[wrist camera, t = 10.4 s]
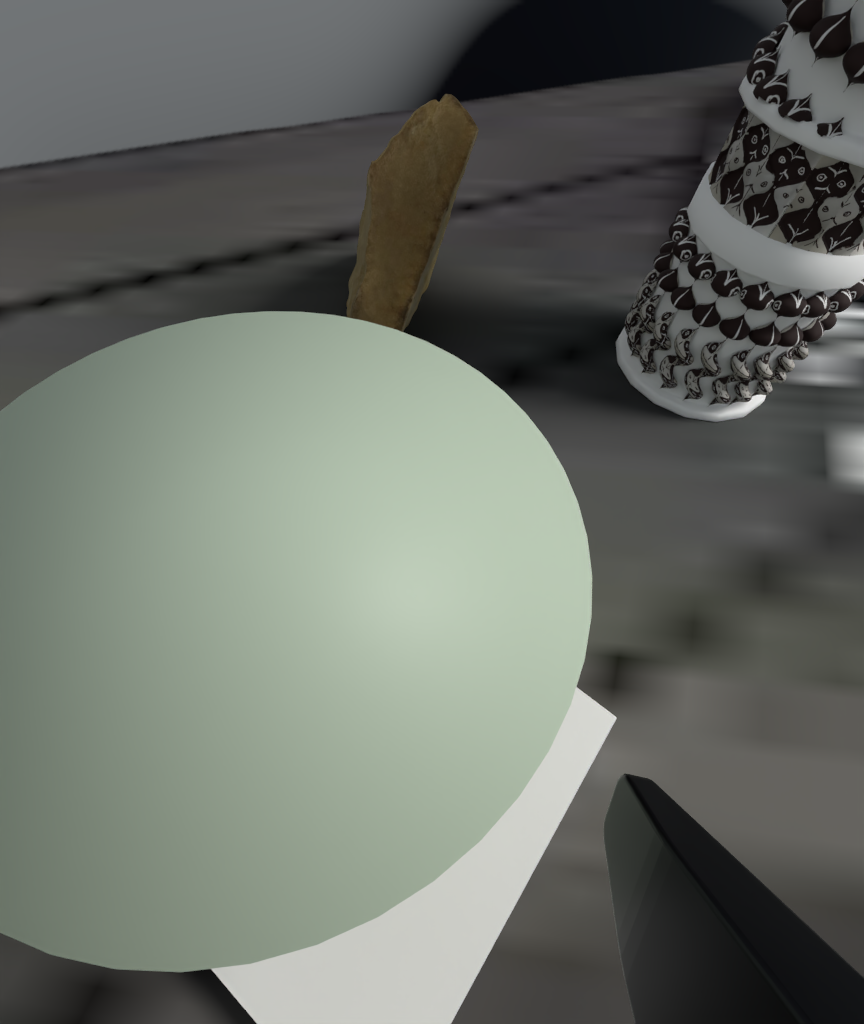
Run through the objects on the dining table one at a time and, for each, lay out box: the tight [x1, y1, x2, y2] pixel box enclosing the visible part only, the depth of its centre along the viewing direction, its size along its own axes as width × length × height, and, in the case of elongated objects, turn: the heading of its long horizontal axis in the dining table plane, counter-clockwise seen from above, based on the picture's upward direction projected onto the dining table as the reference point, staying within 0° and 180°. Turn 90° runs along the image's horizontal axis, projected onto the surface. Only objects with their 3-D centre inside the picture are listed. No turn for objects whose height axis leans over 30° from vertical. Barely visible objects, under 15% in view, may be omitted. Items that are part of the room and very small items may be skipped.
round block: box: [0, 311, 592, 972], centre depth 10 cm, size 5×5×14 cm
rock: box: [346, 94, 478, 332], centre depth 26 cm, size 11×9×10 cm
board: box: [211, 687, 617, 1024], centre depth 16 cm, size 12×12×2 cm
